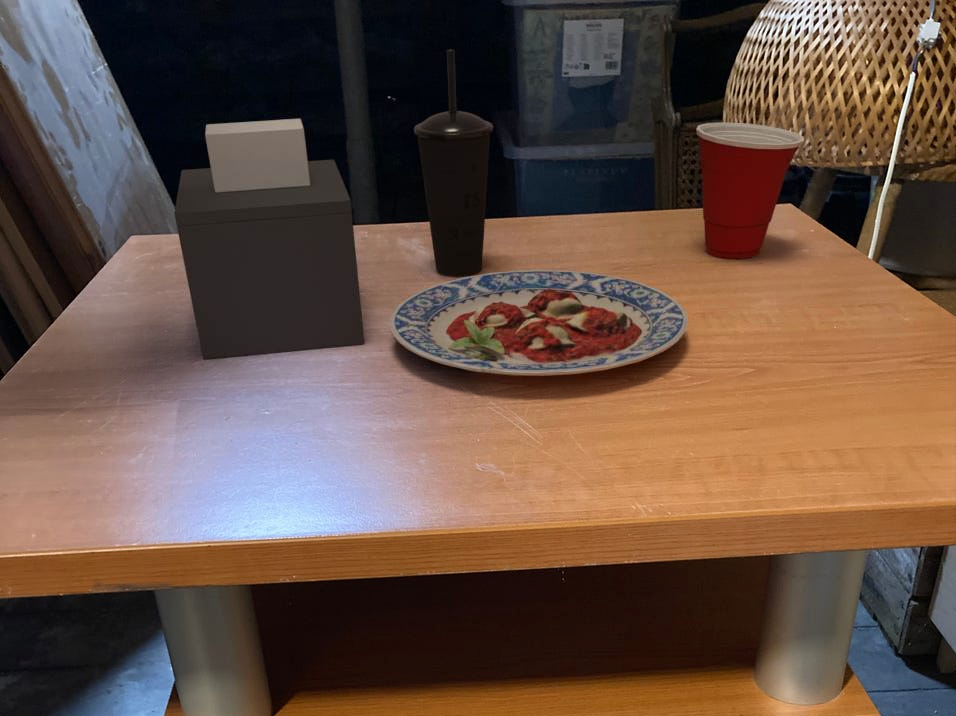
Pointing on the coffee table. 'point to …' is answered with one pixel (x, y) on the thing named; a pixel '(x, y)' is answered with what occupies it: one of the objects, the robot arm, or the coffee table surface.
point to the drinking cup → (455, 183)
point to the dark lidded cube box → (270, 264)
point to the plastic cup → (742, 183)
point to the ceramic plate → (539, 322)
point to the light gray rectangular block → (257, 155)
